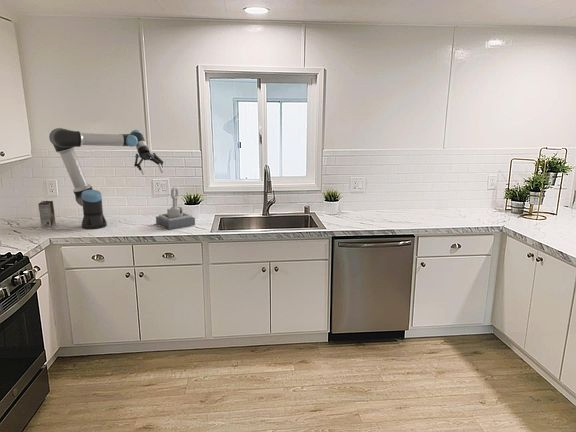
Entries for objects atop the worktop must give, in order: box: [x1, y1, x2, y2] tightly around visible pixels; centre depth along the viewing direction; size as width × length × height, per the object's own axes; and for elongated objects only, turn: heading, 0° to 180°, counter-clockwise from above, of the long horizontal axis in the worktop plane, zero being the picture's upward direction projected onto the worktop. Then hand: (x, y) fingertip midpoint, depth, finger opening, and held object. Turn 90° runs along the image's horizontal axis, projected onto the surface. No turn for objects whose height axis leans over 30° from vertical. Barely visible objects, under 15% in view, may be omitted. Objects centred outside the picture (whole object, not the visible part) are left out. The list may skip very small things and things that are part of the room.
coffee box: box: [37, 200, 56, 229], centre depth 280 cm, size 9×6×16 cm
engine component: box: [166, 186, 184, 218], centre depth 287 cm, size 11×20×10 cm
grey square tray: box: [155, 212, 196, 230], centre depth 290 cm, size 19×19×6 cm
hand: (153, 172), depth 292 cm, fingers open, 13 cm apart
